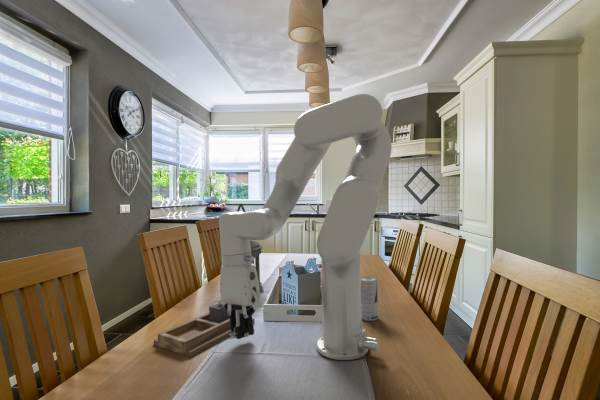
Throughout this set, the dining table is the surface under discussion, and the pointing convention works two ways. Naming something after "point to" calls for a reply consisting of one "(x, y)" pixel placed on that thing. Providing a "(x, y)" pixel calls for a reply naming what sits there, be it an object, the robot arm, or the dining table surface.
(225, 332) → the brown wooden divided tray
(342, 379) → the dining table surface
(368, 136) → the robot arm
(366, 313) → the energy drink
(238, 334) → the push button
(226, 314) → the plug block
